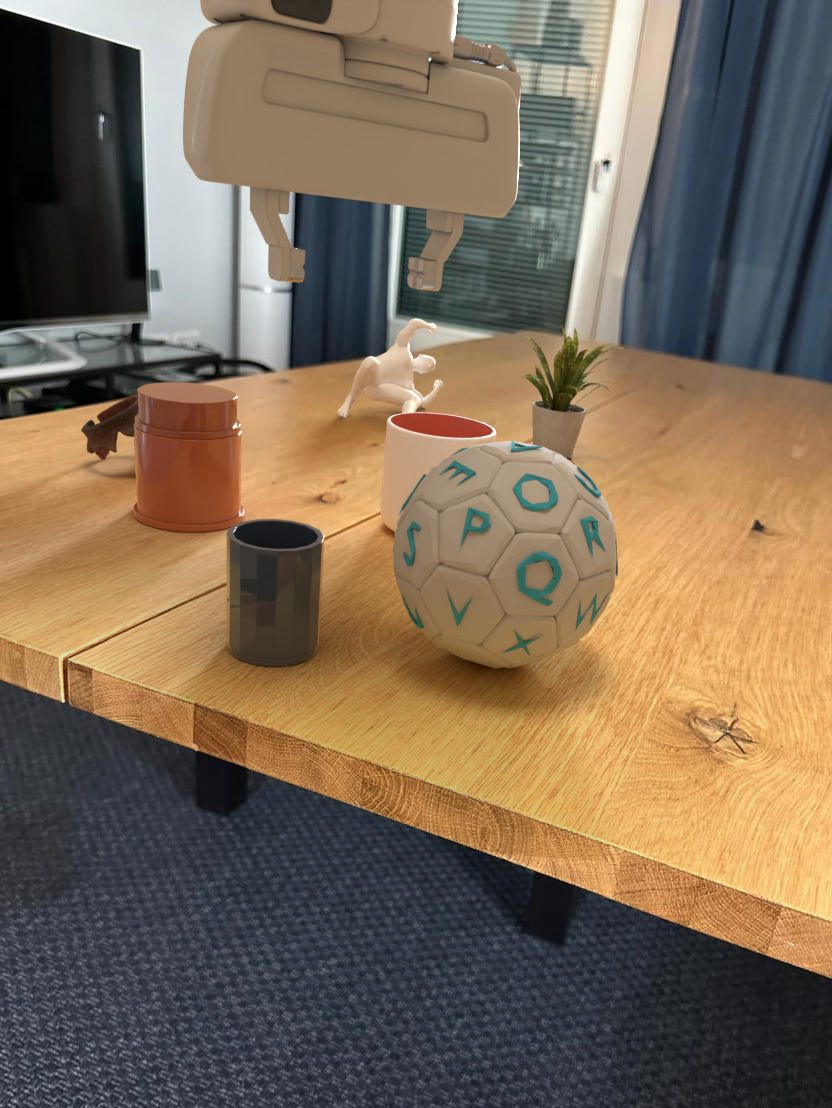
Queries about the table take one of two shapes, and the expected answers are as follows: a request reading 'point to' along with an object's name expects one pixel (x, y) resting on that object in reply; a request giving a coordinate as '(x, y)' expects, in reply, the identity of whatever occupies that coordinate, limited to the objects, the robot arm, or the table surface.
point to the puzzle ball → (505, 554)
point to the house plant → (562, 395)
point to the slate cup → (274, 591)
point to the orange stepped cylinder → (187, 457)
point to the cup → (421, 452)
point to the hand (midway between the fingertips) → (358, 285)
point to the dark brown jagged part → (111, 427)
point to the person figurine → (395, 374)
